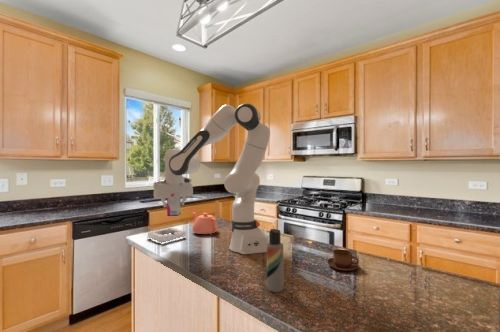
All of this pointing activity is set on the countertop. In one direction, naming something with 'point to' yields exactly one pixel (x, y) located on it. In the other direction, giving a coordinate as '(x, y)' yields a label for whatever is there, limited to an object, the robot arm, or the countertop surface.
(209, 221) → the teapot
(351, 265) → the cup and saucer
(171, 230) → the frame
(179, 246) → the countertop surface
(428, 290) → the countertop surface
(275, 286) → the lotion bottle
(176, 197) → the supplement box
